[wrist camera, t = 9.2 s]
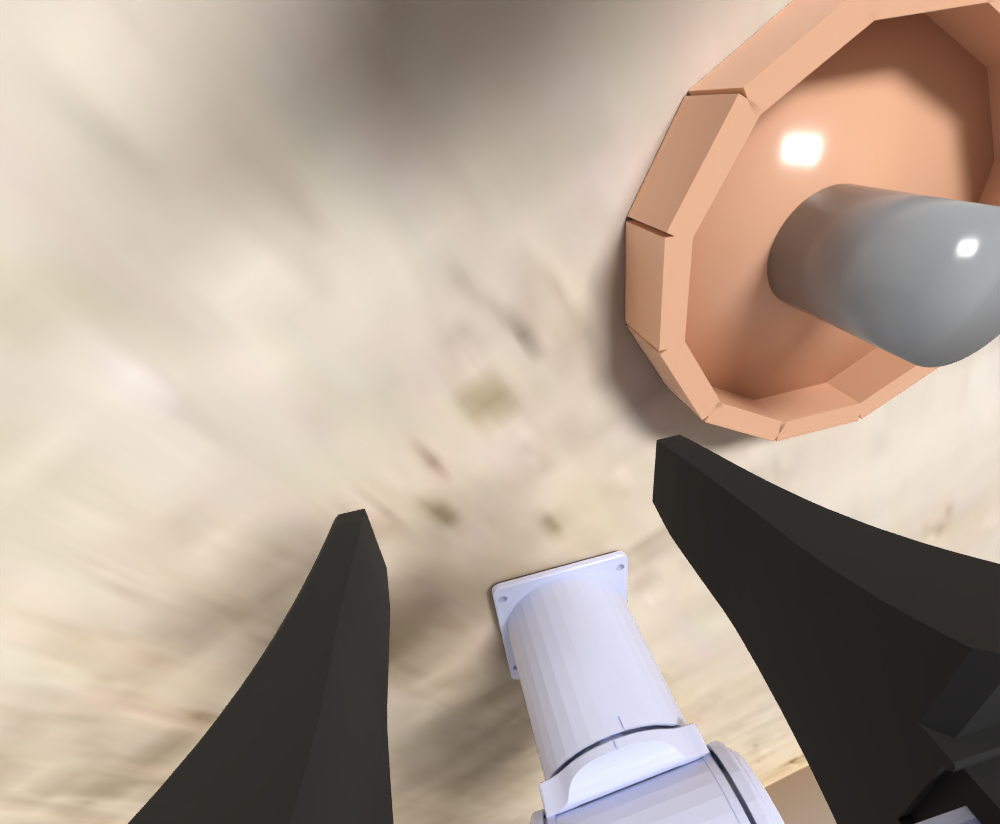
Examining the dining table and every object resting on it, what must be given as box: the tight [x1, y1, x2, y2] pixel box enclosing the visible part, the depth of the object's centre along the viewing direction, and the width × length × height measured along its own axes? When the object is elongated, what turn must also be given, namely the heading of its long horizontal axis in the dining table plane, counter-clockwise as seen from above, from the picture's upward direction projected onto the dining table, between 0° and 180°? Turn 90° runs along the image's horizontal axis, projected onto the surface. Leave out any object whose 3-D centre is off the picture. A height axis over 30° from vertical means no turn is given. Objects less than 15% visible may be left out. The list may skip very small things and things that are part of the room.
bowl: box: [625, 0, 1000, 441], centre depth 19 cm, size 16×16×3 cm
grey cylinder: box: [767, 183, 1000, 368], centre depth 17 cm, size 5×5×6 cm
